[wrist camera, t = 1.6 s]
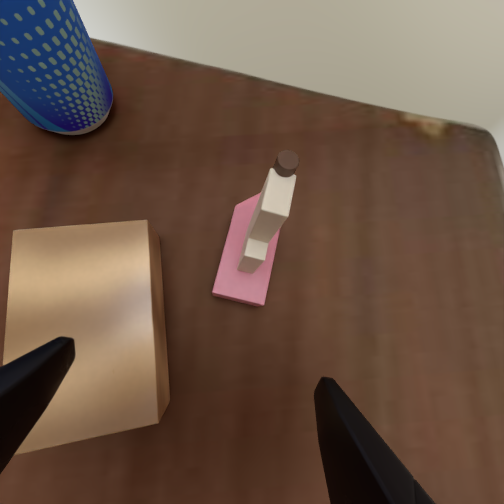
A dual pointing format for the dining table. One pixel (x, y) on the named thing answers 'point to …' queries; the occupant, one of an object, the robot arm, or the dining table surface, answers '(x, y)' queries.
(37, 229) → the wood block
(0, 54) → the beer can
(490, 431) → the dining table surface
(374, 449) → the robot arm
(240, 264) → the toy boat
